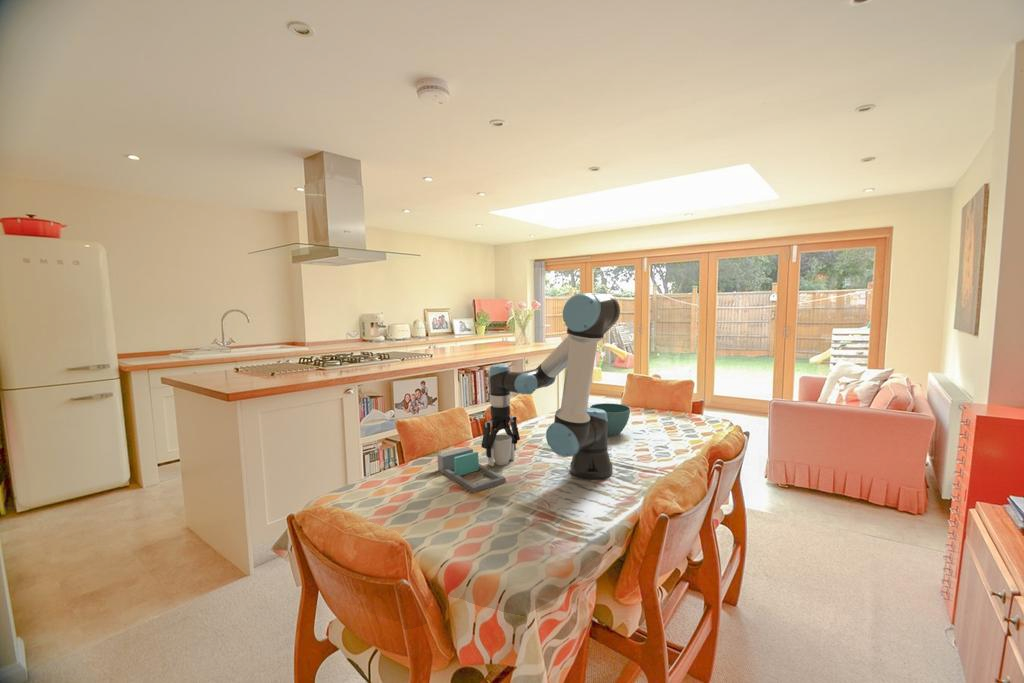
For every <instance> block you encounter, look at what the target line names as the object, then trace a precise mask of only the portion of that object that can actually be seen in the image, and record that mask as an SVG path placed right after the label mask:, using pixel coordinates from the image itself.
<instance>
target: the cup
mask: <svg viewBox="0 0 1024 683" xmlns="http://www.w3.org/2000/svg"><path fill="white" fill-rule="evenodd" d="M511 443H512V437H511V436H509V435H507V434H503V433H501V434H497V435H496V438H495V440H494V443H493V446H492V449H493V454H494V464H495V465H499V466H505V465H508V464H509V462H510V460H511V459H510V454H511Z"/></svg>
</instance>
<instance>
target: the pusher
mask: <svg viewBox="0 0 1024 683" xmlns="http://www.w3.org/2000/svg"><path fill="white" fill-rule="evenodd" d="M479 462H480V461H479V452H478V451H473V453H469V454H465V455H461V456H457V457H454V467H455V470H454V473H456V474H457V475H459V476H463V475H466V474H470V473H473V472H477V471H479V464H480V463H479Z"/></svg>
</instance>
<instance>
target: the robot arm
mask: <svg viewBox="0 0 1024 683" xmlns="http://www.w3.org/2000/svg"><path fill="white" fill-rule="evenodd" d="M620 314H621V307H620V304H619V302H618V300H617V299H616V297H614V296H613V295H611V294H610V293H605V292H600V293H599V292H597V293H596V292H581V293H577V294H575V295H573V296H570V298H569V299H567V301H566V302H565V304H564V306H563V310H562V319H563V322H564V324H565V327H567V329H566V334H567V336H566V337H565V339H563V340H562V341H561V342H560V343H559V345H558V346H557V347H555V348H554V350H553V351H552V352H551V353H550V354H549V355H548V356H547V357H546V358H545V359H544V360H543V361H541V363H540V364H539V365H538V366H537V367H536V368H533V369H530V370H526V371H521V372H520V371H519V372H518V371H510V367H509V365H508V364H493V365H491V366H490V367H489V398H490V399H489V401H490V417H491V418H490V420H489V421H484V422H483V426H484V428H483V429H484V430H483V435H482V439H481V440H482V441H481V446H480V447H481V448H483V449H484V450H486V451H485V452H486V453H485V454H486V458H487V465H489V466H491V467H494V466H495V465H494V464H495V460H494V454H493V449H492V446H493V443H494V440H495V438H496V435H498V433H499V431H501V430H504V431H505V433H506V435H509V436H511V437H512V443H511V454H510V459H509V460H512V461H515V460H516V459H515V451H516V450H517V448H516V447H517V446H516V445H517V444H518V441H520V440H521V438H520V434H519V429H518V424H517V417H516V416H514V415H511V406H510V404H511V396H510V395H511V393H514V394H515V393H516V394H520V395H532V394H533V393H534V392H535V391H536V390H538V389H542V388H547V387H549V386H551V385H553V384H554V383H555V382H556V378H557V376H558V375H559V374H560V373H561V372H563V371H564V369H565V368H566V369H565V376H564V383H563V390H562V398H561V404H560V408H558V409H557V410H556V411H555V414H554V420H553V423H551V424H550V425H549V426H548V427H547V429H546V431H545V432H546V433H545V439H546V443H547V445H548V446H549V447H550V449H551V451H552V452H553V453H554V454H556V455H557V456H559V457H561V458H562V457H563V458H568V457H572V458H571V462H570V465H569V467H570V468H569V470H570V473H571V474H572V475H573V476H575V477H578V478H582V479H585V480H586V479H587V480H588V479H589V480H600V479H605V478H609V477H610V476H612V474H613V471H614V470H613V464H612V462H611V458H610V455H609V452H608V436H607V422H608V420H607V413H606V412H605V411H604V410H602V409H597V408H590V407H588V404H589V398H590V392H591V391H590V390H591V386H592V385H591V384H592V381H593V380H592V379H593V373H594V372H593V371H594V367H595V360H596V353H597V348H598V343H599V342H600V341H601V340H603V338H604V335H605V334H606V333H607V332H608V331H609V330H610V329H611V328H613V327H614V326H615V324H617V322H618V321H619V319H620V316H621V315H620ZM510 415H511V416H510ZM509 423H510V424H509Z"/></svg>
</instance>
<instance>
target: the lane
mask: <svg viewBox="0 0 1024 683" xmlns="http://www.w3.org/2000/svg"><path fill="white" fill-rule="evenodd" d="M473 452H474V449H473V448H471V447H469V446H465V447H461V448H458V449H457V448H456V449H451V450H449V451H445V452H441V453H437V470H438V471H440V472H441V473H442V474H444V475H446V476H447V477H449V478H450V479H452V480H453V481H455V482H456V483H458V484H460V485H461V486H463V487H464V488H466V489H467V490H469V491H471V492H472V493H476V491H477V492H480V491H482V489H483V490H485V489H488V488H492V487H495V486H499V485H501V484H505V483H506V482H507V478H506V477H505V476H503V475H502V474H499V473H497V472H496V471H493V469H490V468H488V467H486V466H484V465H482V464H481V463H479V470H478V471H480V472H481V473H483V474H484V475H487V476H489V477H490V478H492V480H488V481H484V482H481V483H479V484H474V483H472V482H471V481H469V480H467V479H466V478H463V477H462V475H460V476H459V475H457V474H456V473H455V467H454V457H457V456H461V455H465V454H469V453H473ZM479 490H480V491H479Z"/></svg>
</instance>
